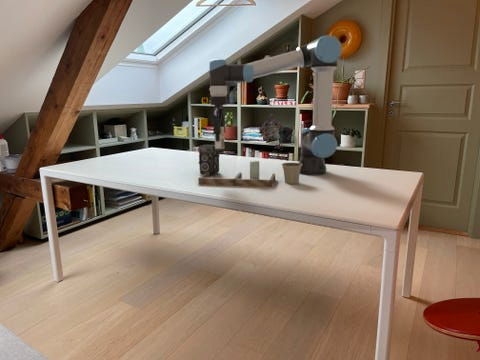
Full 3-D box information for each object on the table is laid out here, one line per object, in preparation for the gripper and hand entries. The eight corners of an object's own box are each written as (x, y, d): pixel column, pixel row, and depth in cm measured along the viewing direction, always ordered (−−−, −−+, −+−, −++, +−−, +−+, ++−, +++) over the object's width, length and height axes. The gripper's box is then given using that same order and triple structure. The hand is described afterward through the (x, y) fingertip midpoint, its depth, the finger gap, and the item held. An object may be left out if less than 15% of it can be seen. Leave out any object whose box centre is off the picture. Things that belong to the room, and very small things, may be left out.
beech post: (225, 148, 168) (225, 126, 165) (223, 149, 163) (222, 127, 161) (216, 147, 168) (215, 126, 166) (213, 149, 164) (213, 127, 162)
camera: (195, 175, 181) (194, 146, 178) (203, 171, 191) (202, 143, 188) (214, 177, 178) (213, 147, 175) (222, 172, 188) (221, 144, 185)
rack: (275, 179, 171) (275, 173, 171) (271, 187, 158) (272, 180, 157) (207, 177, 178) (206, 171, 177) (198, 184, 165) (198, 177, 164)
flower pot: (277, 182, 167) (277, 164, 165) (290, 179, 172) (291, 161, 170) (292, 186, 160) (292, 167, 157) (305, 182, 165) (306, 164, 163)
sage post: (260, 181, 168) (259, 160, 166) (258, 183, 164) (258, 162, 162) (250, 181, 169) (250, 160, 167) (249, 183, 165) (249, 162, 162)
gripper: (215, 95, 169) (216, 144, 175) (204, 96, 153) (206, 150, 158) (231, 95, 168) (231, 144, 173) (221, 95, 151) (223, 150, 157)
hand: (219, 147), depth 166 cm, fingers closed on beech post, 4 cm apart
